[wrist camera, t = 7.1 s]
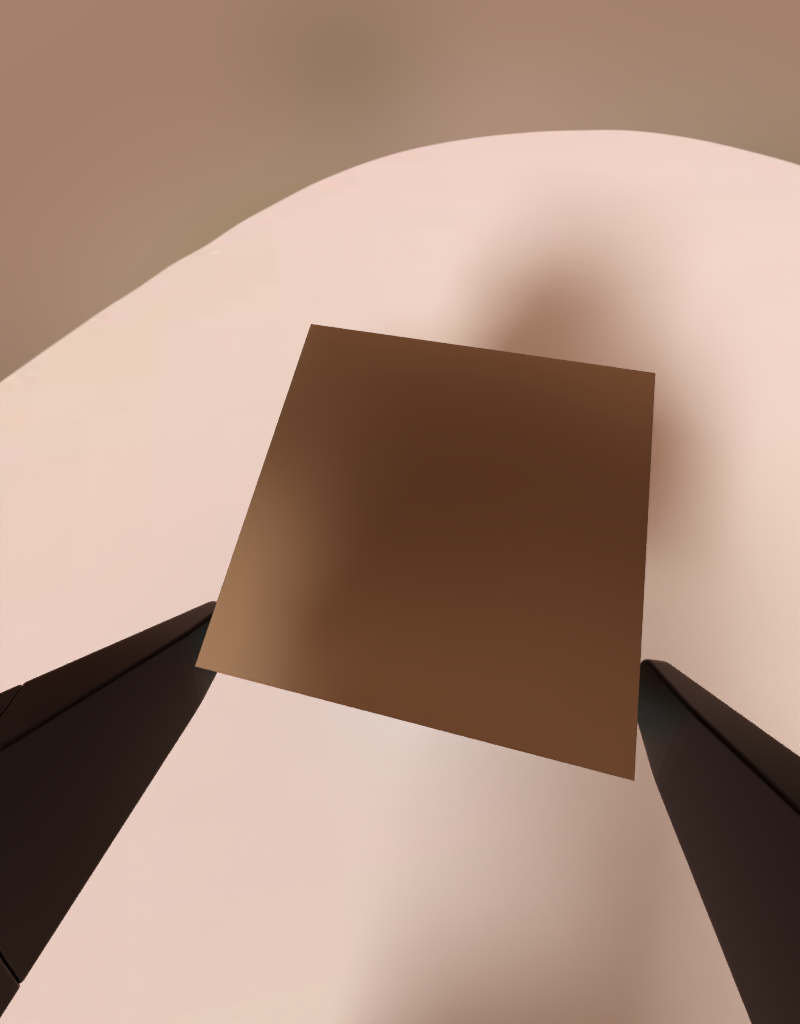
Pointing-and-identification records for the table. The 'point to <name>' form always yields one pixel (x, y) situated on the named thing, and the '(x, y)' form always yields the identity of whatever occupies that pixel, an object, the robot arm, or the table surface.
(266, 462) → the walnut pillar
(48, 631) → the table surface
